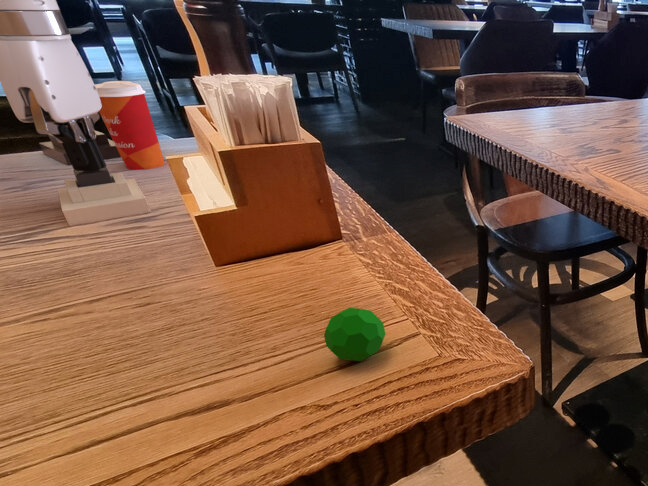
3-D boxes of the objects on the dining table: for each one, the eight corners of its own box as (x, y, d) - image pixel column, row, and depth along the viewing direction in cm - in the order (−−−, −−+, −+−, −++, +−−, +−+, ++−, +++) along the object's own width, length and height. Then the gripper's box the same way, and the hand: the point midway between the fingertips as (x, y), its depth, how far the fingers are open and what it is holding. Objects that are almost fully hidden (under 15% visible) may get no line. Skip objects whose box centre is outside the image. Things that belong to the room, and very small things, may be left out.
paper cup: (116, 164, 96) (82, 83, 90) (167, 158, 101) (139, 81, 94) (122, 174, 92) (87, 89, 85) (175, 167, 96) (146, 86, 90)
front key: (79, 183, 76) (73, 169, 75) (111, 179, 78) (105, 165, 77) (81, 189, 74) (75, 175, 73) (114, 185, 76) (108, 171, 75)
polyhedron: (357, 378, 46) (346, 333, 44) (318, 361, 48) (306, 317, 45) (399, 349, 50) (392, 306, 47) (362, 335, 52) (353, 293, 49)
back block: (44, 154, 100) (33, 133, 98) (102, 146, 107) (93, 126, 105) (68, 165, 95) (58, 143, 93) (128, 156, 101) (119, 135, 99)
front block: (64, 202, 79) (51, 177, 77) (139, 191, 84) (129, 167, 82) (69, 226, 72) (55, 198, 70) (151, 212, 77) (140, 185, 75)
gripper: (35, 23, 72) (94, 156, 81) (-62, 28, 59) (21, 185, 68) (98, 24, 73) (149, 155, 82) (16, 30, 60) (87, 184, 69)
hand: (90, 168), depth 75 cm, fingers closed
